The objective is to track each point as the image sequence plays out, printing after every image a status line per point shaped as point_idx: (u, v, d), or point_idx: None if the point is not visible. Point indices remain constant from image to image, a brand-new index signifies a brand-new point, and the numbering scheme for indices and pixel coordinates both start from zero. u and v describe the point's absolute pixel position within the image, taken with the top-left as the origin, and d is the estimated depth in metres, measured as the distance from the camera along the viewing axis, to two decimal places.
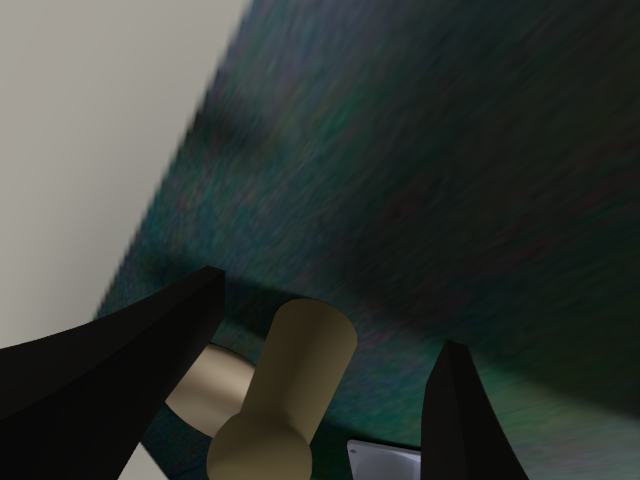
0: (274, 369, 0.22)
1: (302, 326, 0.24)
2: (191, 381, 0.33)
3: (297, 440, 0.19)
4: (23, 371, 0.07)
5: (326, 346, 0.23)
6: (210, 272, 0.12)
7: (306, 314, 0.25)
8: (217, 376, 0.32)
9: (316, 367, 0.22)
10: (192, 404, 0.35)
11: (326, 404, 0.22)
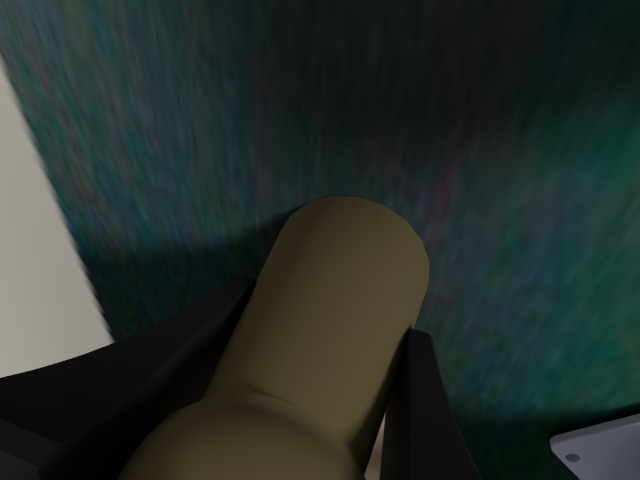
0: (239, 324, 0.11)
1: (285, 243, 0.13)
2: None
3: (264, 430, 0.07)
4: (71, 390, 0.07)
5: (332, 246, 0.12)
6: (241, 281, 0.12)
7: (292, 227, 0.13)
8: None
9: (316, 282, 0.10)
10: None
11: (375, 345, 0.10)
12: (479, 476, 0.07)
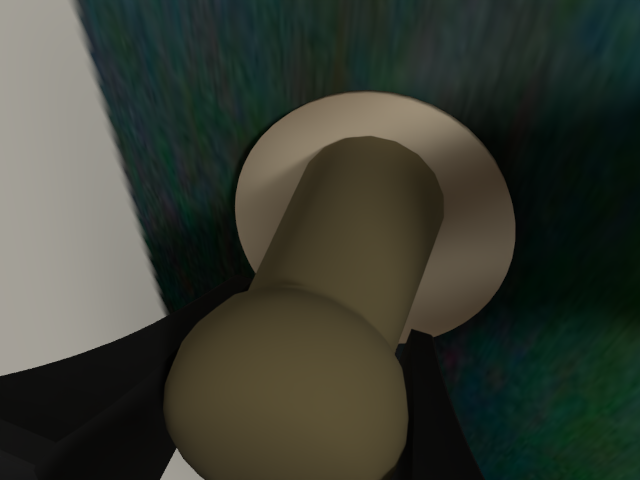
0: (269, 247, 0.12)
1: (305, 180, 0.14)
2: None
3: (300, 299, 0.08)
4: (68, 389, 0.07)
5: (349, 175, 0.12)
6: (240, 281, 0.12)
7: (311, 168, 0.14)
8: None
9: (337, 202, 0.11)
10: None
11: (395, 252, 0.11)
12: (482, 477, 0.07)
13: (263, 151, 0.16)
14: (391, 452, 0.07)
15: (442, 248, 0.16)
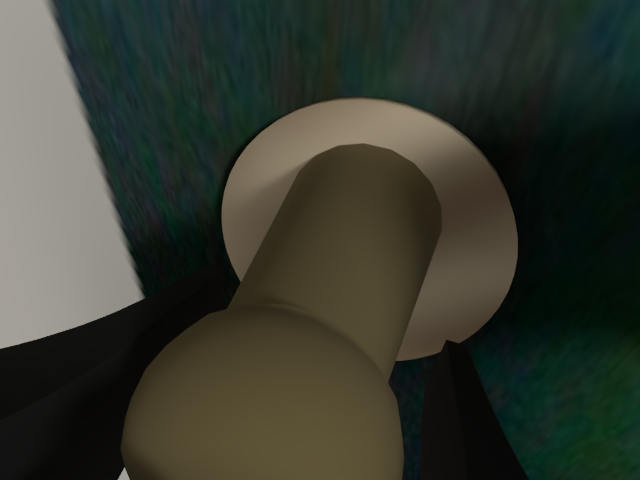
0: (252, 260, 0.11)
1: (294, 190, 0.13)
2: None
3: (280, 321, 0.07)
4: (23, 371, 0.07)
5: (341, 183, 0.12)
6: (210, 272, 0.12)
7: (301, 177, 0.14)
8: None
9: (327, 212, 0.10)
10: None
11: (389, 267, 0.10)
12: None
13: (250, 161, 0.15)
14: None
15: (440, 263, 0.15)
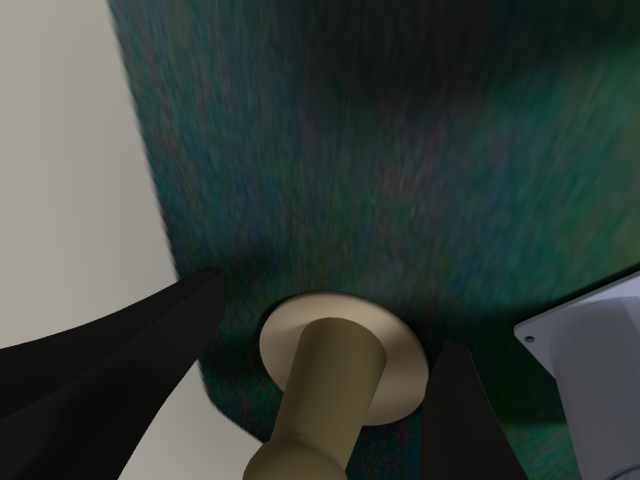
0: (285, 398, 0.22)
1: (304, 349, 0.24)
2: None
3: (301, 451, 0.18)
4: (23, 371, 0.07)
5: (328, 354, 0.23)
6: (210, 272, 0.12)
7: (308, 337, 0.25)
8: None
9: (321, 377, 0.22)
10: None
11: (349, 408, 0.21)
12: None
13: (278, 317, 0.27)
14: None
15: (387, 377, 0.26)
